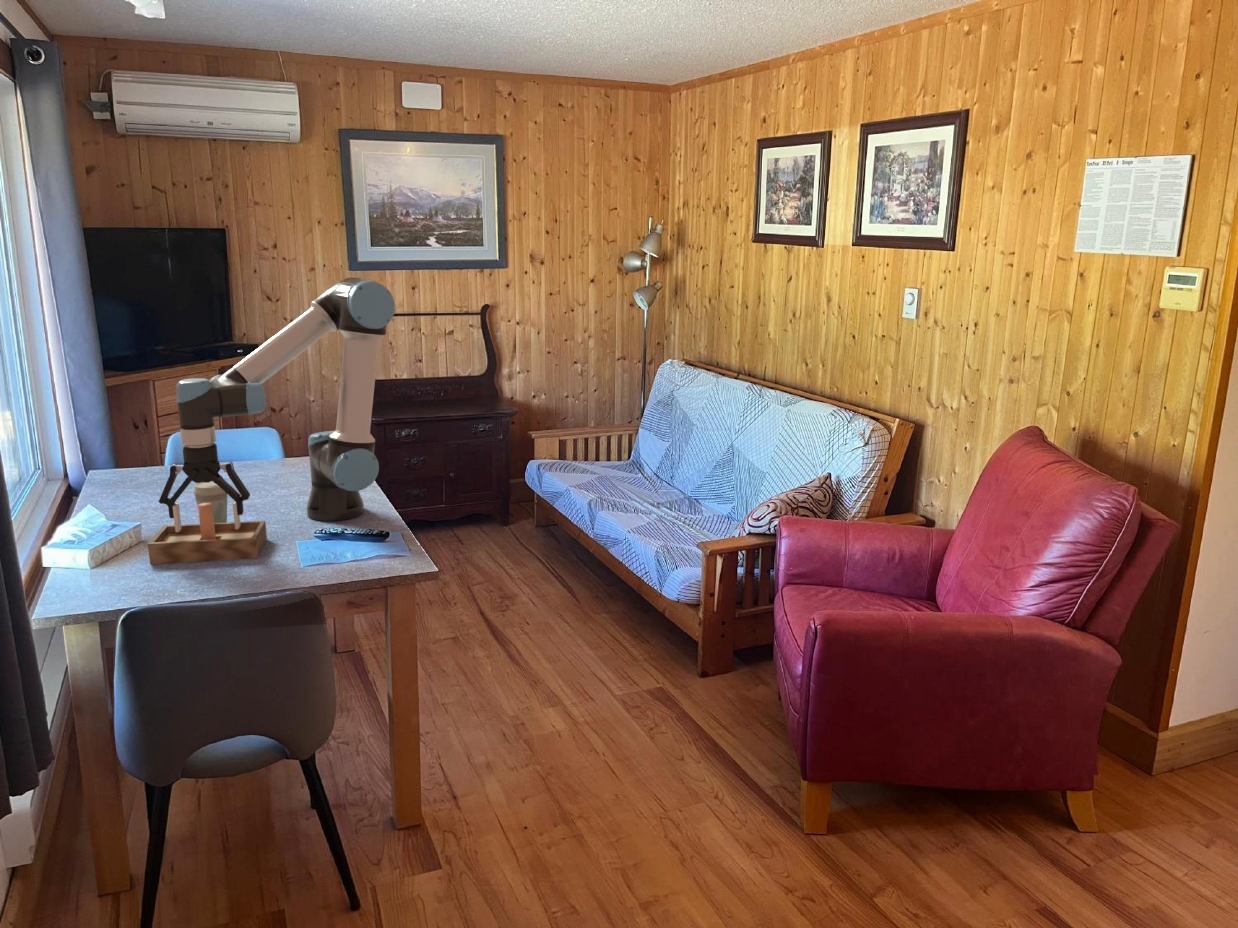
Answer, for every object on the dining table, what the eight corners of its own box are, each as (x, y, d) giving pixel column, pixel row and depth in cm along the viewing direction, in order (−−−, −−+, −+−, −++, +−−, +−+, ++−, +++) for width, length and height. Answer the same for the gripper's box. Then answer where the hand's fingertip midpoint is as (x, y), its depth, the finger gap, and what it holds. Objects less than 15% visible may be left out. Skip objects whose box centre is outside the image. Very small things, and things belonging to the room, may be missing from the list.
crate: (267, 539, 242) (265, 520, 241) (257, 558, 229) (255, 538, 227) (166, 544, 238) (163, 525, 236) (150, 564, 224) (147, 544, 223)
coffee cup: (194, 534, 246) (190, 489, 242) (199, 524, 253) (194, 480, 250) (230, 531, 248) (225, 487, 245) (234, 521, 256) (229, 478, 253)
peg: (215, 553, 232) (210, 506, 229) (201, 554, 231) (196, 506, 228) (218, 548, 235) (213, 502, 232) (204, 549, 234) (199, 502, 231)
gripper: (257, 438, 232) (264, 521, 237) (147, 442, 228) (157, 526, 233) (251, 445, 225) (259, 531, 230) (138, 449, 220) (149, 536, 226)
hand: (208, 529), depth 232 cm, fingers open, 13 cm apart
